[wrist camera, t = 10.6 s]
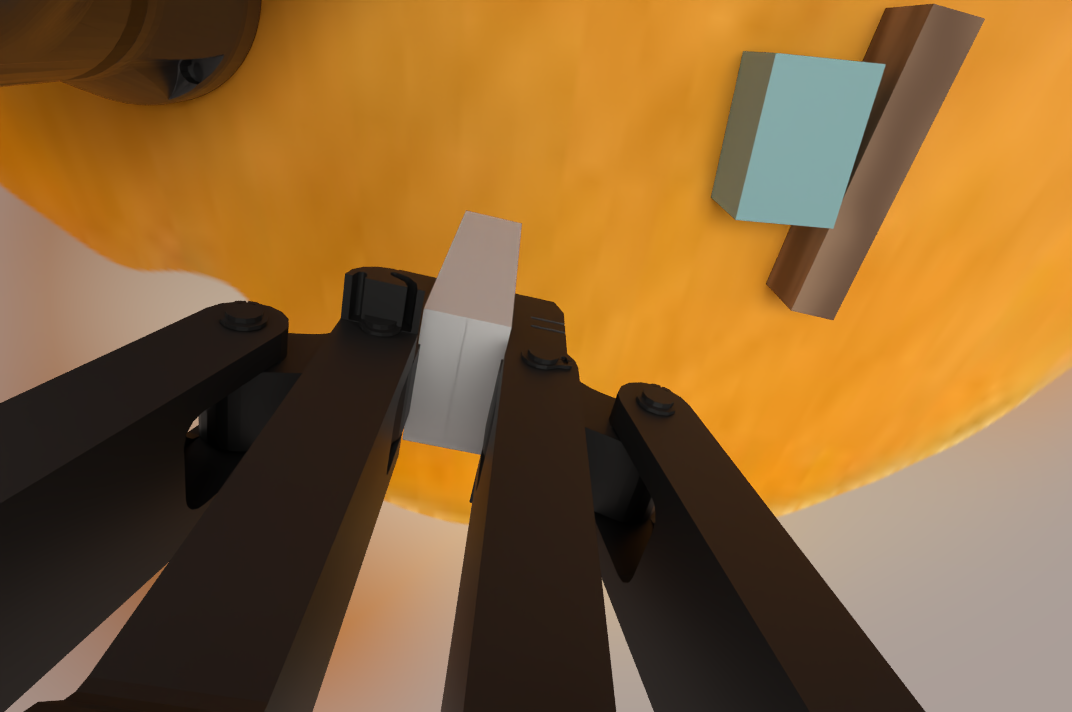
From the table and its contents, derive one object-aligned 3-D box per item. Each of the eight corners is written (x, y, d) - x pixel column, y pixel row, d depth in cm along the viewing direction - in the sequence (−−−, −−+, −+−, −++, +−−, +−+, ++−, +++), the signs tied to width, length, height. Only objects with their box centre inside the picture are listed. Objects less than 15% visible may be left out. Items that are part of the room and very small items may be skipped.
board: (766, 283, 45) (791, 310, 40) (886, 8, 37) (933, 3, 32) (804, 292, 45) (833, 320, 41) (931, 21, 37) (984, 18, 32)
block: (710, 196, 42) (735, 219, 37) (742, 51, 38) (776, 53, 33) (796, 204, 42) (833, 228, 37) (837, 60, 38) (885, 64, 33)
